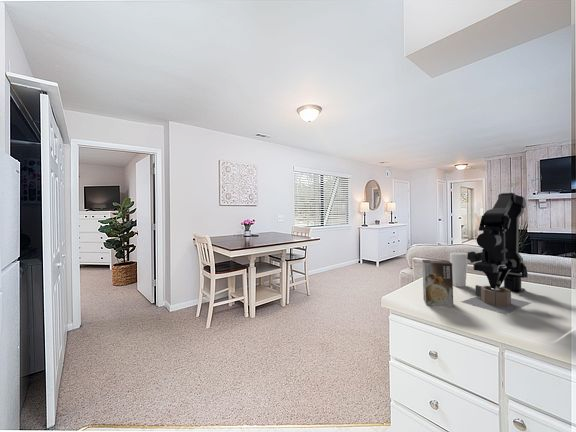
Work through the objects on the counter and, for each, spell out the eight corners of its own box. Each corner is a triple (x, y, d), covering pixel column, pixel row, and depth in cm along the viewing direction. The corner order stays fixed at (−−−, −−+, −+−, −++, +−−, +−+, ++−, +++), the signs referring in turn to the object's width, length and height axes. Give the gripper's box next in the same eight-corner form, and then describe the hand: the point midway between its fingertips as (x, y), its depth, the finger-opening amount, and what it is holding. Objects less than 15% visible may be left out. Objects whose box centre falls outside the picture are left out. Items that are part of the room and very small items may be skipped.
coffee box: (449, 301, 100) (449, 260, 99) (453, 307, 94) (453, 263, 93) (422, 299, 103) (422, 259, 102) (425, 305, 97) (424, 262, 96)
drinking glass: (470, 288, 115) (470, 254, 115) (453, 287, 116) (453, 254, 116) (463, 284, 122) (463, 252, 121) (447, 283, 123) (447, 252, 123)
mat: (487, 293, 108) (487, 292, 108) (531, 303, 96) (531, 302, 96) (460, 302, 98) (460, 301, 98) (505, 315, 86) (505, 314, 86)
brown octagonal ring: (481, 295, 105) (481, 283, 105) (514, 303, 95) (514, 290, 95) (470, 299, 101) (470, 286, 101) (503, 307, 91) (503, 293, 91)
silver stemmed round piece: (491, 298, 100) (490, 277, 100) (507, 302, 96) (507, 280, 96) (484, 300, 98) (483, 279, 98) (500, 305, 93) (500, 282, 93)
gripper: (483, 241, 108) (483, 279, 108) (458, 245, 99) (458, 286, 100) (517, 244, 98) (517, 285, 99) (492, 249, 89) (492, 294, 90)
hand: (495, 287), depth 97 cm, fingers closed on silver stemmed round piece, 3 cm apart
